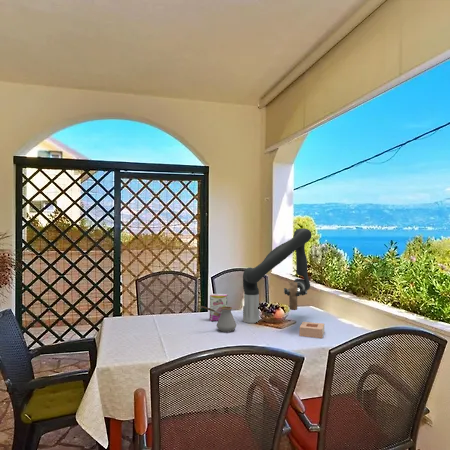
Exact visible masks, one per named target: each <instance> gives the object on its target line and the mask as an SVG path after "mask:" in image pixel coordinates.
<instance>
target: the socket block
mask: <svg viewBox="0 0 450 450" xmlns="http://www.w3.org/2000/svg"><path fill="white" fill-rule="evenodd" d="M324 335H325V323H320V322H309V321H302V323H301V324H300V326H299V336H298V337H305V338H306V337H307V338H313V339H314V338H316V339H323V337H324Z"/></svg>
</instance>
